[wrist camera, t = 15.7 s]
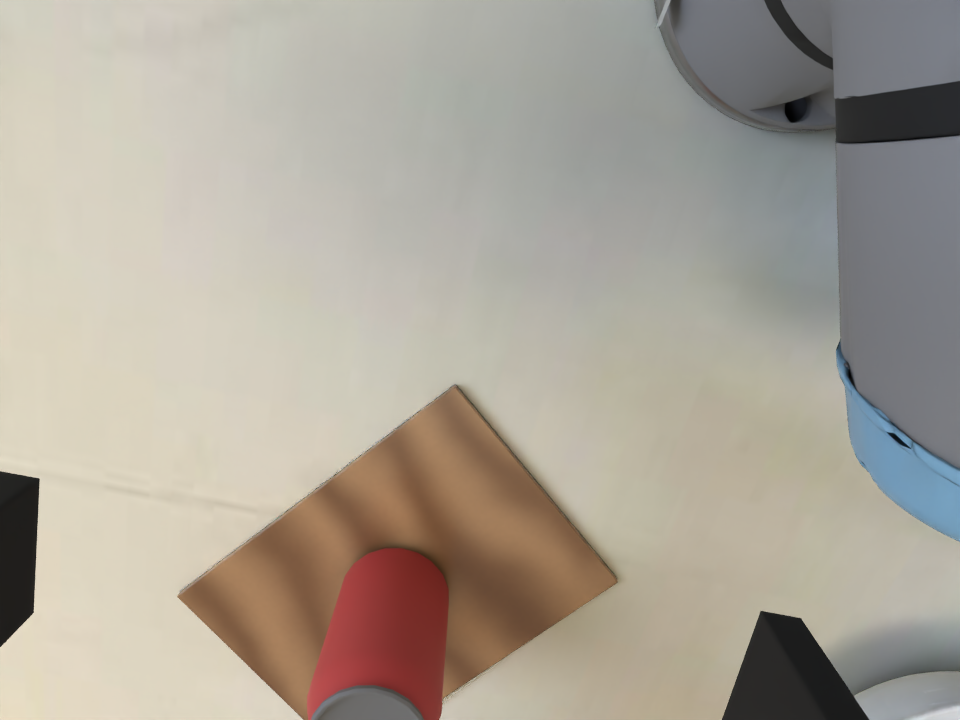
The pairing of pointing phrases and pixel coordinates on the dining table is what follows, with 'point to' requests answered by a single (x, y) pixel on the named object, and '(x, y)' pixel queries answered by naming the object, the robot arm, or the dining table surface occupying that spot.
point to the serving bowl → (914, 697)
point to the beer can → (384, 642)
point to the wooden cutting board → (412, 526)
